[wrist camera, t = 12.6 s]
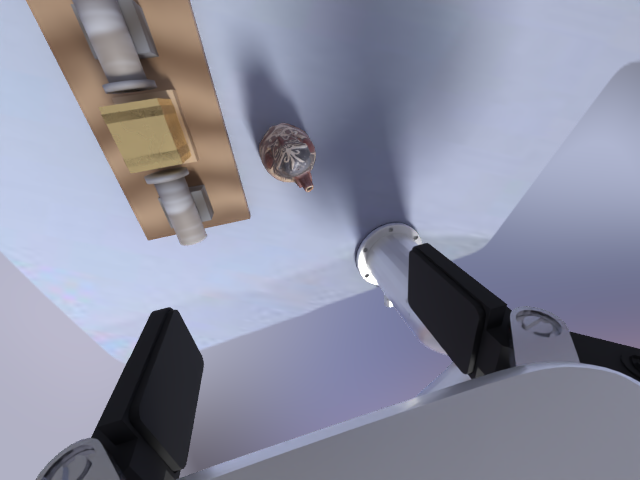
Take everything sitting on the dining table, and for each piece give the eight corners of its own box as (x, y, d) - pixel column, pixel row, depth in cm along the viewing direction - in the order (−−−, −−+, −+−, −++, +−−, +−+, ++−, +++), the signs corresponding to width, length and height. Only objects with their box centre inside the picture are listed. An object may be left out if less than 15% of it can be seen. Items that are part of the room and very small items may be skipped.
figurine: (300, 115, 35) (322, 119, 25) (317, 166, 39) (342, 188, 29) (250, 134, 35) (250, 146, 25) (271, 183, 39) (279, 213, 28)
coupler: (121, 107, 28) (97, 107, 24) (171, 99, 29) (157, 97, 24) (146, 164, 31) (130, 173, 27) (192, 155, 32) (182, 163, 27)
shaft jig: (250, 214, 40) (250, 237, 33) (151, 235, 38) (129, 264, 31) (185, -17, 27) (163, -58, 20) (33, -3, 25) (-48, -44, 19)
